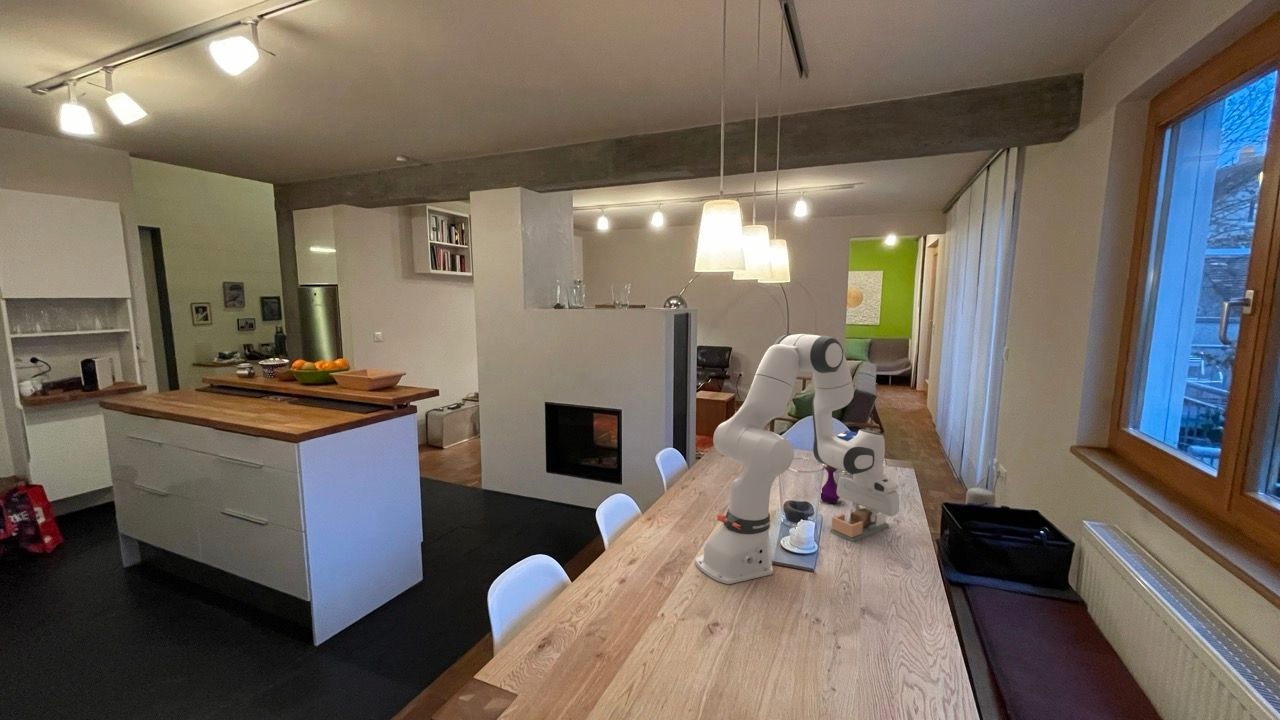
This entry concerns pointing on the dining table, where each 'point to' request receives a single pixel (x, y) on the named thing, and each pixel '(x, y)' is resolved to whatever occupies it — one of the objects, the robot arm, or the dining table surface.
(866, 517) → the brown rectangular block
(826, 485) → the perfume bottle
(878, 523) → the grey slotted holder
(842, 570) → the dining table surface
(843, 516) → the cap
